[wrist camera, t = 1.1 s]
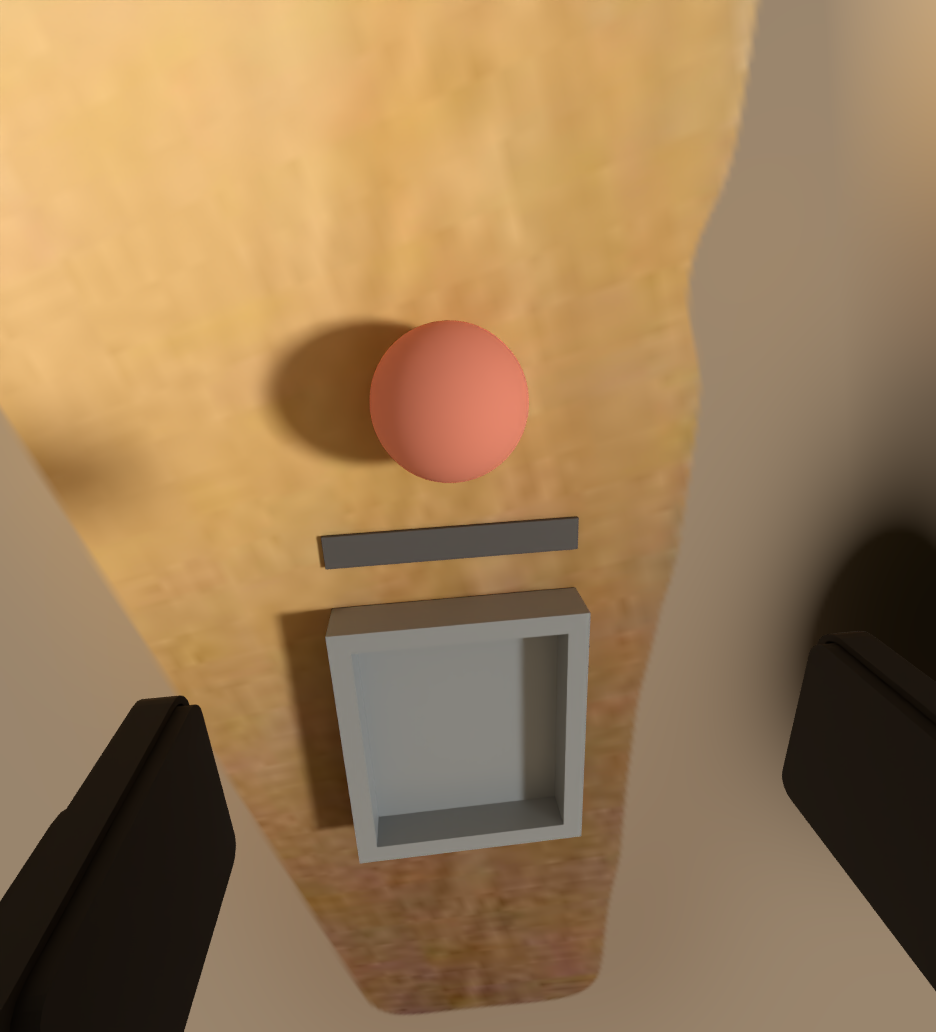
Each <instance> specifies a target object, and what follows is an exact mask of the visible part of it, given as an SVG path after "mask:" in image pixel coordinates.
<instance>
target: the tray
mask: <svg viewBox="0 0 936 1032" xmlns="http://www.w3.org/2000/svg"><path fill="white" fill-rule="evenodd" d="M589 635H590V611H589V610H588V608H587V606H586V605H585V603H584V601H583V600H582V598H581V596H580V595H579V593H578V591H577V590H576V588H564V589H552V590H541V591H529V592H518V593H506V594H495V595H483V596H472V597H460V598H448V599H437V600H425V601H414V602H402V603H391V604H379V605H368V606H356V607H345V608H333V609H332V611H331V615H330V620H329V624H328V628H327V632H326V636H325V638H326V645H327V651H328V658H329V664H330V671H331V677H332V684H333V691H334V697H335V704H336V710H337V717H338V723H339V730H340V736H341V743H342V750H343V756H344V763H345V769H346V776H347V782H348V789H349V796H350V802H351V809H352V815H353V822H354V828H355V835H356V841H357V848H358V855H359V861H360V863H367V862H375V861H383V860H391V859H400V858H408V857H416V856H424V855H432V854H440V853H448V852H456V851H464V850H473V849H481V848H489V847H497V846H505V845H513V844H521V843H529V842H537V841H546V840H554V839H562V838H570V837H578V836H581V828H582V804H583V780H584V756H585V731H586V707H587V683H588V659H589Z"/></svg>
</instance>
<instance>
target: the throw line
mask: <svg viewBox="0 0 936 1032" xmlns="http://www.w3.org/2000/svg"><path fill="white" fill-rule="evenodd" d="M578 520H579V518H578V517H566V518H553V519H540V520H527V521H514V522H501V523H488V524H474V525H461V526H448V527H435V528H422V529H409V530H396V531H383V532H370V533H357V534H344V535H331V536H322V537H321V541H322V548H323V555H324V561H325V568H326V569H337V568H350V567H362V566H374V565H387V564H399V563H411V562H424V561H436V560H448V559H460V558H473V557H485V556H497V555H510V554H522V553H534V552H547V551H559V550H571V549H578Z"/></svg>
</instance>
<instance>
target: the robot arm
mask: <svg viewBox="0 0 936 1032" xmlns="http://www.w3.org/2000/svg"><path fill="white" fill-rule="evenodd" d="M782 779H783V784H784V788H785V790H786V792H787V794H788V796H789V797H790V799H791V800H792V801H793V803H794V804H795V806H796V807H797V808H798V809H799V811H800V812H801V813H802V815H803V816H804V818H805V819H806V820H807V821H808V823H809V824H810V825H811V827H812V828H813V829H814V831H815V832H816V833H817V835H818V836H819V837H820V838H821V840H822V841H823V843H824V844H825V845H826V847H827V848H828V849H829V851H830V852H831V853H832V855H833V856H834V857H835V858H836V860H837V861H838V862H839V864H840V865H841V866H842V868H843V869H844V870H845V872H846V873H847V874H848V875H849V877H850V878H851V880H852V881H853V882H854V884H855V885H856V886H857V887H858V889H859V890H860V892H861V893H862V894H863V895H864V897H865V898H866V899H867V901H868V902H869V903H870V905H871V906H872V907H873V909H874V910H875V911H876V913H877V914H878V915H879V916H880V918H881V919H882V920H883V922H884V923H885V925H886V926H887V927H888V929H889V930H890V931H891V933H892V934H893V935H894V936H895V938H896V939H897V940H898V942H899V943H900V944H901V946H902V947H903V948H904V950H905V951H906V952H907V954H908V955H909V956H910V958H911V959H912V960H913V962H914V963H915V964H916V965H917V967H918V968H919V970H920V971H921V972H922V973H923V975H924V976H925V977H926V979H927V980H928V981H929V983H930V984H931V985H932V987H933V988H934V989H935V991H936V682H935V681H933V680H932V679H931V678H929V677H928V676H927V675H925V674H924V673H923V672H921V671H920V670H918V669H917V668H916V667H914V666H913V665H912V664H910V663H909V662H908V661H906V660H905V659H904V658H902V657H901V656H900V655H898V654H897V653H896V652H894V651H893V650H892V649H890V648H889V647H888V646H886V645H885V644H884V643H882V642H881V641H879V640H878V639H877V638H875V637H874V636H873V635H871V634H869V633H867V632H862V631H856V632H846V633H835V634H827V635H824V636H822V637H821V638H820V639H819V641H818V644H817V645H815V646H813V647H812V648H811V650H810V653H809V657H808V661H807V666H806V670H805V674H804V679H803V683H802V688H801V692H800V697H799V701H798V705H797V709H796V714H795V718H794V723H793V727H792V731H791V736H790V740H789V745H788V749H787V754H786V758H785V762H784V767H783V771H782ZM235 850H236V842H235V834H234V830H233V826H232V823H231V819H230V815H229V811H228V808H227V804H226V800H225V797H224V793H223V789H222V785H221V781H220V778H219V774H218V770H217V766H216V762H215V759H214V755H213V751H212V747H211V744H210V740H209V736H208V732H207V729H206V725H205V721H204V717H203V714H202V711H201V708H200V707H199V706H198V705H189V703H188V700H187V699H186V698H185V697H184V696H171V697H161V698H151V699H141V700H139V701H137V702H136V703H135V705H134V706H133V707H132V708H131V710H130V712H129V713H128V715H127V716H126V718H125V720H124V721H123V722H122V724H121V726H120V727H119V729H118V730H117V732H116V733H115V735H114V736H113V738H112V739H111V741H110V742H109V744H108V746H107V747H106V749H105V750H104V752H103V753H102V755H101V756H100V758H99V760H98V761H97V762H96V764H95V766H94V767H93V769H92V770H91V772H90V773H89V775H88V776H87V778H86V780H85V781H84V783H83V784H82V786H81V787H80V789H79V790H78V792H77V794H76V795H75V796H74V798H73V800H72V801H71V803H70V804H69V806H68V807H67V809H66V810H64V811H62V812H61V813H60V814H59V815H58V817H57V818H56V819H55V820H54V821H53V823H52V824H51V825H50V827H49V828H48V830H47V831H46V833H45V834H44V836H43V837H42V839H41V840H40V842H39V843H38V845H37V846H36V848H35V849H34V851H33V853H32V854H31V856H30V857H29V859H28V860H27V862H26V863H25V865H24V866H23V868H22V869H21V871H20V872H19V874H18V875H17V877H16V879H15V880H14V881H13V883H12V884H11V886H10V887H9V889H8V890H7V892H6V894H5V895H4V896H3V898H2V900H1V901H0V1032H184V1029H185V1026H186V1023H187V1019H188V1016H189V1013H190V1009H191V1006H192V1002H193V999H194V995H195V992H196V989H197V985H198V982H199V979H200V975H201V972H202V969H203V965H204V962H205V958H206V955H207V952H208V948H209V945H210V942H211V938H212V935H213V931H214V928H215V925H216V921H217V918H218V915H219V911H220V907H221V904H222V901H223V898H224V894H225V891H226V888H227V884H228V881H229V877H230V874H231V871H232V867H233V863H234V859H235Z"/></svg>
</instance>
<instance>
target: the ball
mask: <svg viewBox="0 0 936 1032" xmlns="http://www.w3.org/2000/svg"><path fill="white" fill-rule="evenodd" d="M528 409H529V397H528V388H527V383H526V379H525V376H524V373H523V370H522V368H521V366H520V364H519V362H518V360H517V359H516V357H515V356H514V354H513V353H512V351H511V350H510V349H509V348H508V347H507V346H506V345H505V344H504V343H503V342H502V341H501V340H500V339H499V338H497V337H496V336H495V335H493V334H492V333H490V332H489V331H487V330H485V329H483V328H481V327H479V326H477V325H473V324H470V323H467V322H461V321H448V320H445V321H436V322H431V323H427V324H424V325H421V326H419V327H416V328H414V329H412V330H411V331H409V332H407V333H405V334H404V335H403V336H401V337H400V338H399V339H398V340H396V341H395V342H394V343H393V344H392V345H391V346H390V347H389V348H388V350H387V351H386V353H385V354H384V355H383V357H382V358H381V360H380V362H379V364H378V366H377V368H376V370H375V373H374V376H373V379H372V383H371V388H370V413H371V419H372V423H373V427H374V430H375V432H376V434H377V437H378V439H379V441H380V442H381V444H382V446H383V447H384V449H385V450H386V451H387V453H388V454H389V455H390V456H391V457H392V458H393V459H394V460H395V461H396V462H397V463H398V464H399V465H400V466H402V467H403V468H404V469H406V470H407V471H409V472H411V473H412V474H414V475H416V476H419V477H421V478H424V479H427V480H431V481H435V482H442V483H457V482H465V481H468V480H472V479H475V478H478V477H480V476H483V475H485V474H487V473H488V472H490V471H492V470H493V469H495V468H496V467H497V466H499V465H500V464H501V463H502V462H503V461H504V460H505V459H507V457H508V456H509V455H510V454H511V453H512V451H513V450H514V449H515V447H516V446H517V444H518V442H519V440H520V438H521V436H522V434H523V432H524V429H525V426H526V422H527V417H528Z"/></svg>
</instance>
